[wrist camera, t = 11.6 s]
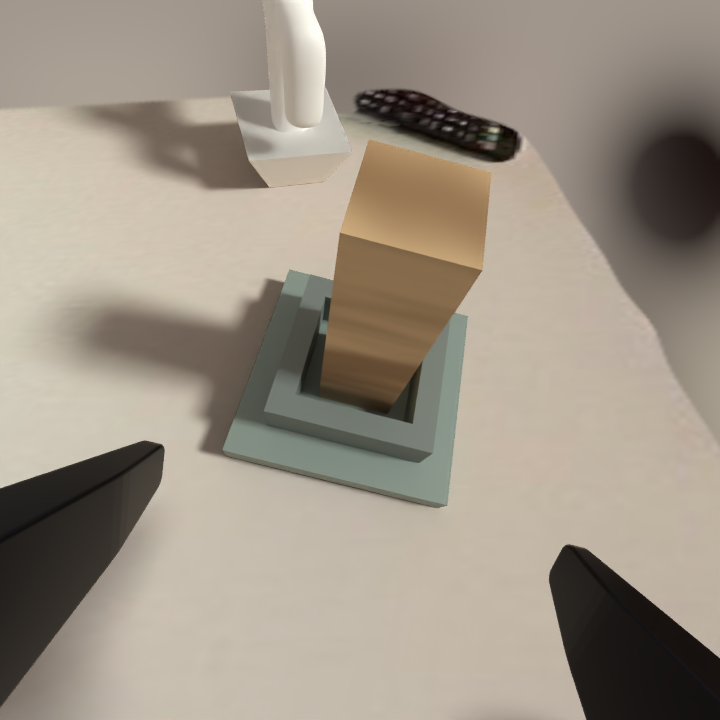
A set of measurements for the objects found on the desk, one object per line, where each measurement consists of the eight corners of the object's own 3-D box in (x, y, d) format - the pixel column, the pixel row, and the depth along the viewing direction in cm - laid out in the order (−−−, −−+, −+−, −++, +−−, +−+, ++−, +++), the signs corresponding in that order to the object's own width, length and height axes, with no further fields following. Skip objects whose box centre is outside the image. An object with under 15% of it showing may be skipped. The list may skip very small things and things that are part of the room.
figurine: (257, 214, 29) (222, -68, 16) (234, 128, 33) (189, -163, 19) (351, 203, 31) (391, -60, 18) (319, 123, 35) (333, -148, 21)
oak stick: (387, 414, 23) (482, 270, 11) (318, 396, 22) (339, 232, 11) (398, 352, 24) (491, 172, 13) (335, 336, 24) (369, 139, 13)
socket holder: (438, 508, 22) (465, 500, 19) (226, 456, 22) (212, 437, 18) (459, 327, 28) (483, 294, 24) (289, 283, 27) (288, 243, 24)
